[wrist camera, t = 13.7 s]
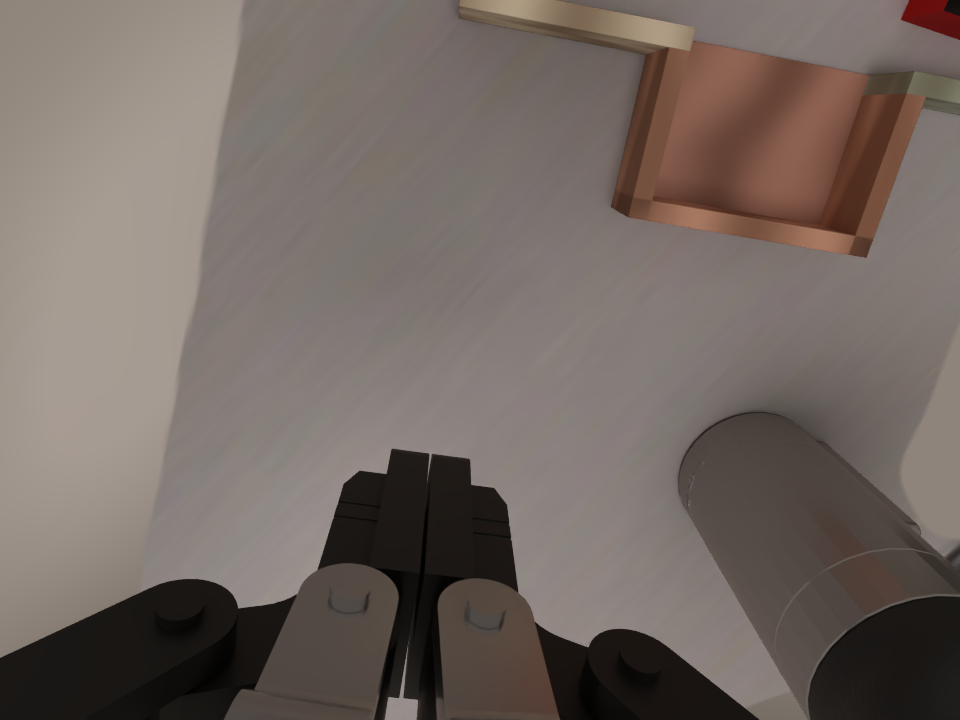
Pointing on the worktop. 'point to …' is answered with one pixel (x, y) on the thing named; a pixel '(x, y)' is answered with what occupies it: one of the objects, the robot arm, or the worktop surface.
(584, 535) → the worktop surface
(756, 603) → the robot arm
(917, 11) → the puzzle toy
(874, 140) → the open sectioned tray
